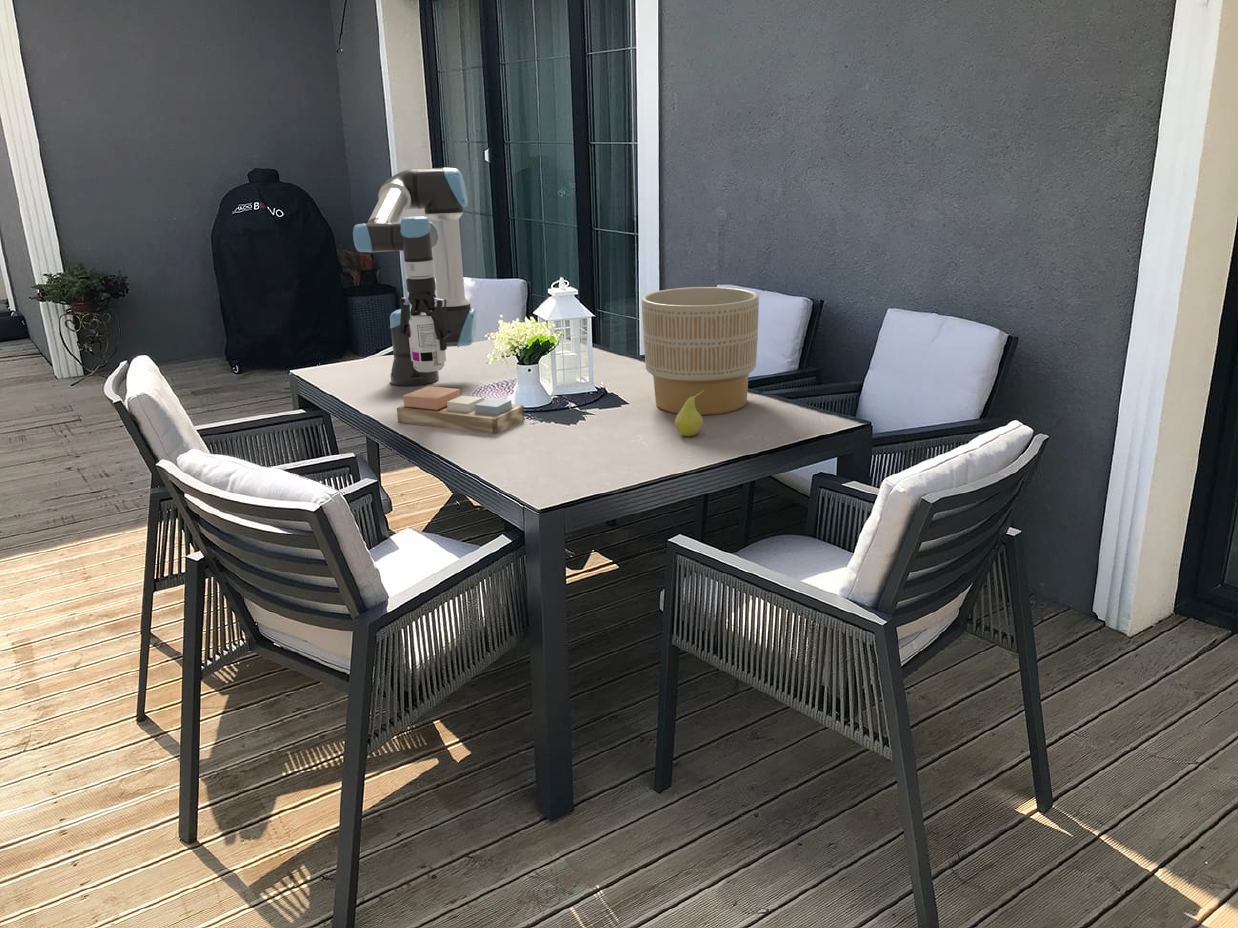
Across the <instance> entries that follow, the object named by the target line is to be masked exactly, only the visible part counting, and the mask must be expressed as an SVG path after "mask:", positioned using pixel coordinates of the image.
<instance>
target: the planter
mask: <svg viewBox="0 0 1238 928" xmlns="http://www.w3.org/2000/svg"><path fill="white" fill-rule="evenodd" d="M759 296H760V295H759V293H757V292H755V291H754V290H753V291H752V290H749V289H744V288H743V289H742V288H737V287H726V286H725V287H723V286H722V287H721V286H720V287H719V286H697V287H696V286H692V287H691V286H690V287H679V288H669V289H663V290H657V291H652V292H649V293H647V294H644V295H643V296H642V297H641V311H642V312H641V313H642V315H641V316H642V331H643V332H642V333H643V334H642V335H643V348H644V349H643V350H644V360H645V361H644V362H645V364H644V365H645V370H646V371H647V372H648V374H650V375H651V376H653V386H654V387H653V388H654V389H653V390H654V397H655V404H656V406H657V407H658V408H659V409H661V410H663V411H665V412H667V413H671V414H677V415H678V413H679V412H680V410H681V409H682V407H683V406H684V404H685V402H686V401H687V400H688V399H689V398H690V397H692V396H695V395H697V394H698V393H700V392H701V391H702V390H703V389H704V390H705V391H704V392H703V393H701V394H699V395H698V396H696V397H695V408H696V411H697V412H698V413H699V414H700V415H701V416H712V415H714V416H715V415H723V414H726V413H727V414H728V413H732V412H734V411H738V410H740V409H742V408H743V407H744V406H746V403H747V400H748V391H749V390H748V388H749V387H748V385H749V374H751V373H752V372H753V371H755V369H756V367H757V360H758V358H757V357H758V338H759V337H758V336H759V312H760V311H759V307H760V305H759V303H760V301H759V299H760V297H759Z"/></svg>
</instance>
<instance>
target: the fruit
mask: <svg viewBox="0 0 1238 928" xmlns="http://www.w3.org/2000/svg"><path fill="white" fill-rule="evenodd" d="M704 391H705V390H704V389H703V390H702V391H701V392H700V393H698V394H697V395H695V396H692V397H690V398H689V399H688V400H687V401H686V402H685V404H684V406H683V407H682V409H681V410H680V412H679V413H678V414H677V415H676V416H675V421H674V424H675V427H676V428H675V429H676V430H677V431H678V433H679V434H680V435H681V436H684V437H693V436H695V435H697V434H698V433H700V432H701V429H702V428H703V425H704V419H703V415H700V414H699V413H698V412H697V411H696V408H695V397H696V396H698V395H699V394H701V393H703V392H704Z"/></svg>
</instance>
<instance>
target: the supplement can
mask: <svg viewBox="0 0 1238 928" xmlns="http://www.w3.org/2000/svg"><path fill="white" fill-rule="evenodd" d="M409 328H410V337H411V347H412V357H413V366H414V369H416V371H418V372H434V371H438V372H439V371H442V370H443V368H444V367H445V362H442V363H438V360H437V349H436V338H438V337H437V334H436V332H435V330H434V321H433V319H432V317H431V316H427V315H426V313H424V312H423V313H420V314H418V315H415V316H413V315H411V317H410V320H409Z"/></svg>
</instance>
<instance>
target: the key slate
mask: <svg viewBox="0 0 1238 928" xmlns="http://www.w3.org/2000/svg"><path fill="white" fill-rule="evenodd" d="M483 400H484V399H483ZM512 404H513V403H512V400H510V399H503V398H502V399H501V398H500V399H499V398H493V397H489V398H486V399H485V400H484V401H482V402H480V403H477V404H475V413H478V414H487V415H496V416H498V415H501V414H503V413H505V412H507V411H509V410H511V409H512Z"/></svg>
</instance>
